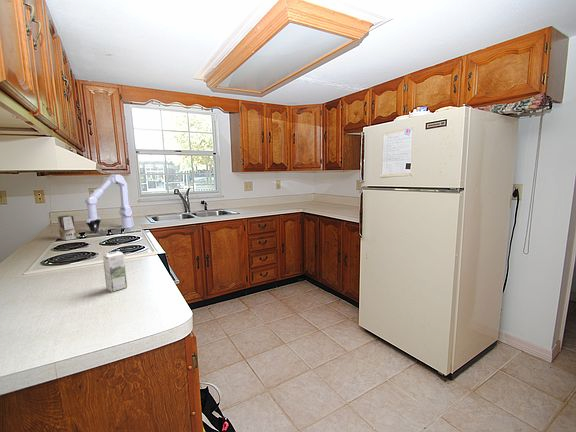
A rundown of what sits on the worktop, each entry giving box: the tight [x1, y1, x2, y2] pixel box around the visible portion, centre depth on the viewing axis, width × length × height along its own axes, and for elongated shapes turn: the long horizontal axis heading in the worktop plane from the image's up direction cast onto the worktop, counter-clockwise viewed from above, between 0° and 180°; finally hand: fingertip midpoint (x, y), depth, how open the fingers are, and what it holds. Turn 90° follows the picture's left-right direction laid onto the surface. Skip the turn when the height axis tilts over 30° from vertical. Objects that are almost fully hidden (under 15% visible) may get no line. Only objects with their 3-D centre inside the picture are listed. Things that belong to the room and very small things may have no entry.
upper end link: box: [96, 227, 121, 235], centre depth 221 cm, size 10×14×2 cm
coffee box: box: [57, 214, 77, 241], centre depth 201 cm, size 9×6×16 cm
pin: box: [91, 223, 99, 234], centre depth 220 cm, size 4×4×7 cm
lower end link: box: [101, 228, 131, 235], centre depth 222 cm, size 10×16×2 cm, turn 95°
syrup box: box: [102, 250, 128, 293], centre depth 114 cm, size 6×6×14 cm
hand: (94, 230), depth 220 cm, fingers open, 5 cm apart
